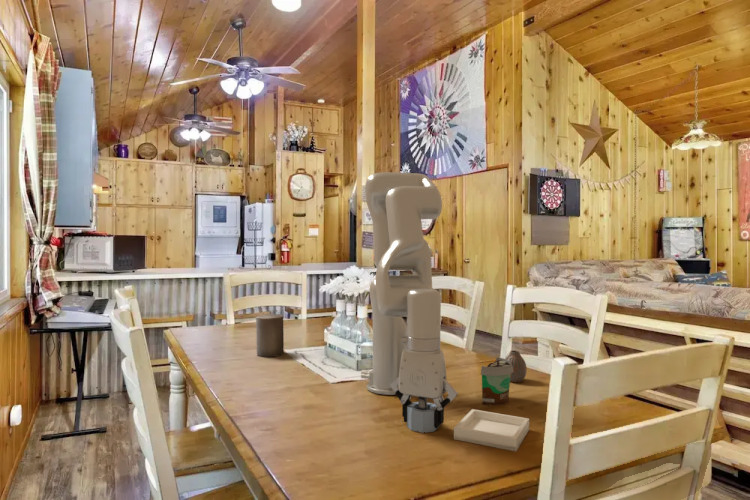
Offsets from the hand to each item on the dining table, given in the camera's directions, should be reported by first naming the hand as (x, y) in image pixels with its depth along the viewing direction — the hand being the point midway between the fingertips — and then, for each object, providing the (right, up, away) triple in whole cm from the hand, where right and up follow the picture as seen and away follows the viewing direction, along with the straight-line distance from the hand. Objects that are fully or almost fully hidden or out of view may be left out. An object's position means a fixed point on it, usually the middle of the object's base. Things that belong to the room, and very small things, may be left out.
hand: (422, 422), depth 116 cm
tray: (+15, -1, -4) cm, 15 cm away
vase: (+31, 0, +37) cm, 48 cm away
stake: (0, -1, 0) cm, 1 cm away
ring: (0, -1, 0) cm, 1 cm away
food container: (+22, -1, +18) cm, 28 cm away
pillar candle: (-48, +1, +69) cm, 85 cm away
